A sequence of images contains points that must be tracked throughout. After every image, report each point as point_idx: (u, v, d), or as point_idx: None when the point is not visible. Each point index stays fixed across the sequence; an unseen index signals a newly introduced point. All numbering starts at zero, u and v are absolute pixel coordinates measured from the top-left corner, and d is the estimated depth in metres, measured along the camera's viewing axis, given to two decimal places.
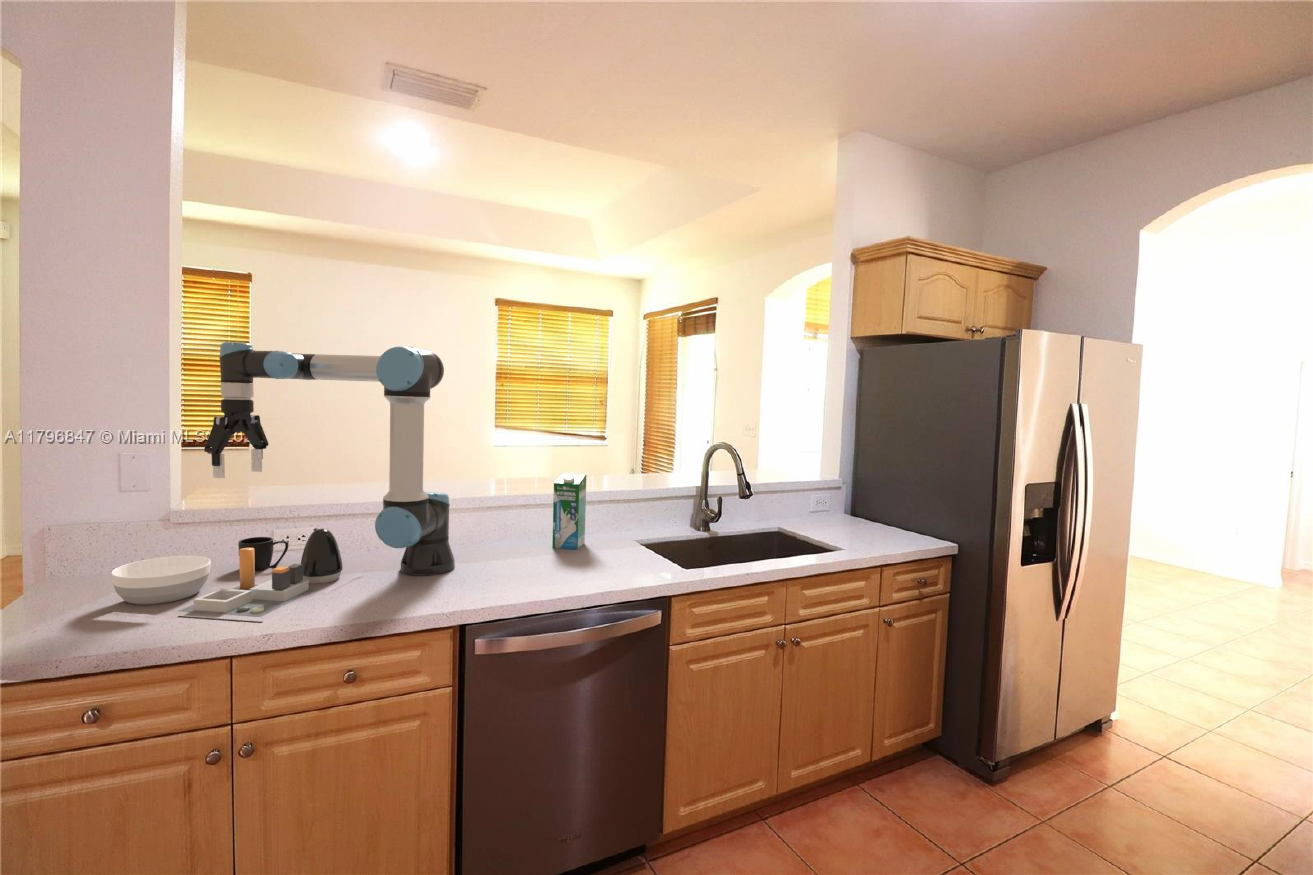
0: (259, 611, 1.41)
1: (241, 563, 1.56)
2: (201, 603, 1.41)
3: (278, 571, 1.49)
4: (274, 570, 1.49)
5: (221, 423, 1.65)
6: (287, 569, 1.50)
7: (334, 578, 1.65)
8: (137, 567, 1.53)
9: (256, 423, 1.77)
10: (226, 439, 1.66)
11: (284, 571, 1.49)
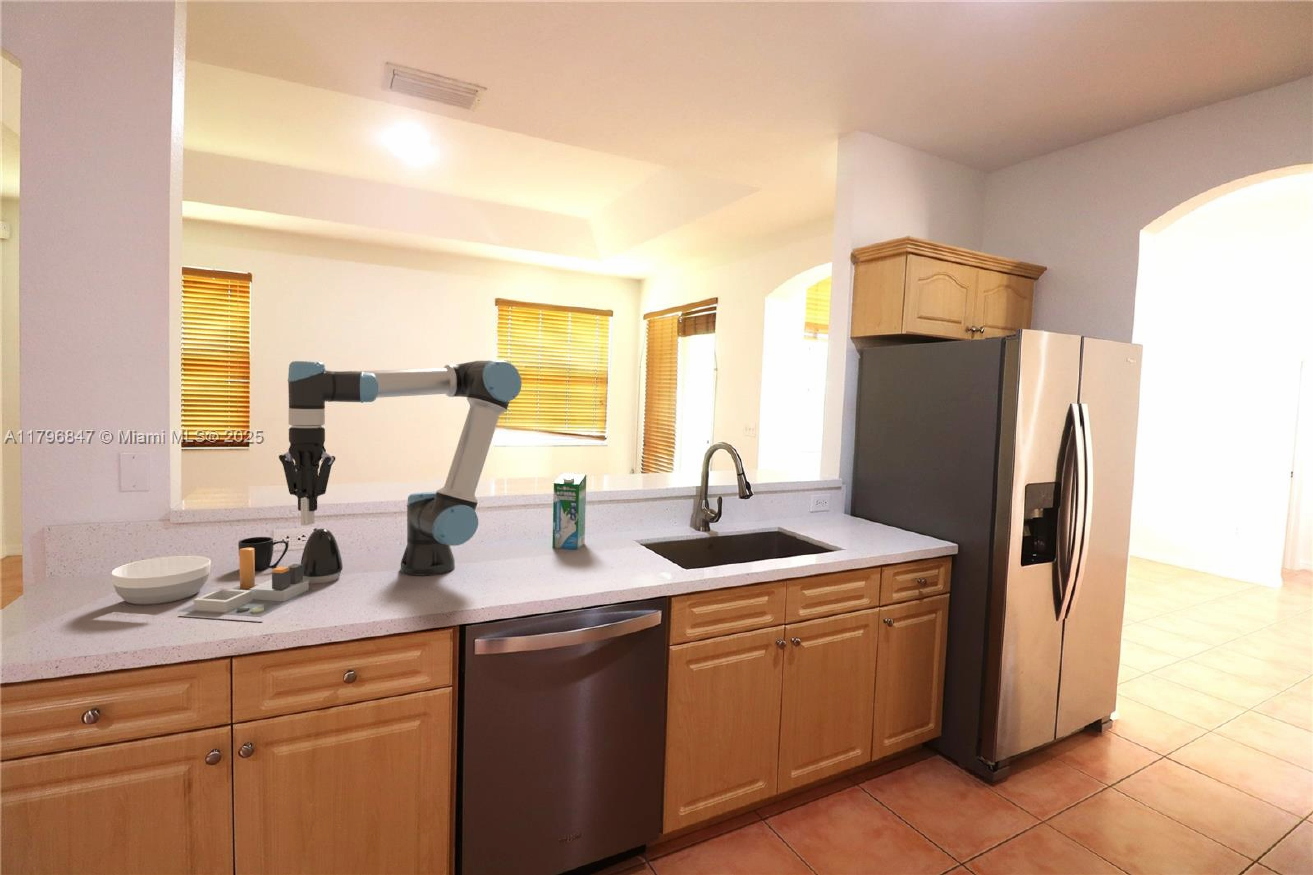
0: (259, 611, 1.41)
1: (241, 563, 1.56)
2: (201, 603, 1.41)
3: (278, 571, 1.49)
4: (274, 570, 1.49)
5: (282, 462, 1.47)
6: (287, 569, 1.50)
7: (334, 578, 1.65)
8: (137, 567, 1.53)
9: None
10: (297, 478, 1.47)
11: (284, 571, 1.49)
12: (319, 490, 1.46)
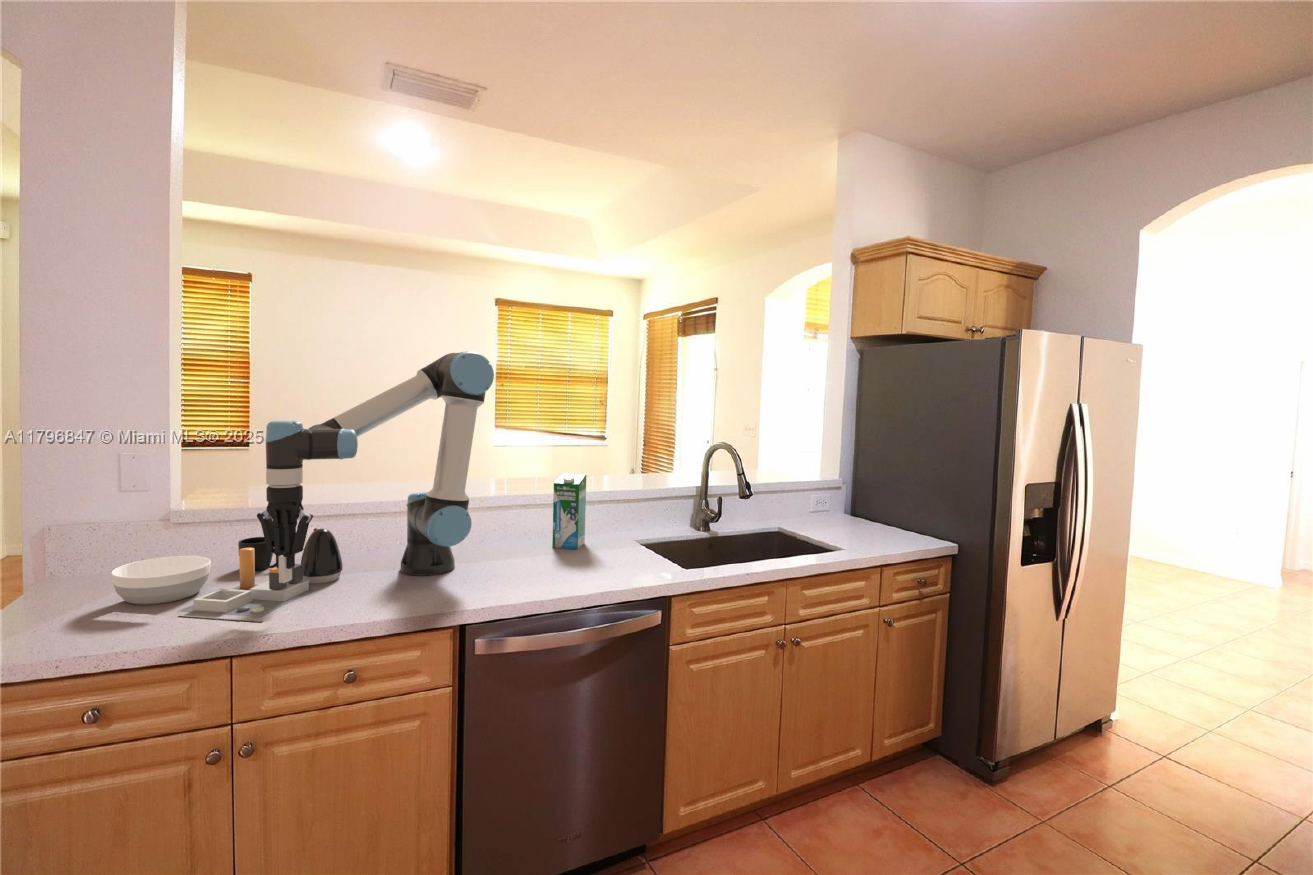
0: (259, 611, 1.41)
1: (241, 563, 1.56)
2: (201, 603, 1.41)
3: (275, 571, 1.49)
4: (271, 570, 1.49)
5: (260, 521, 1.48)
6: None
7: (334, 578, 1.65)
8: (137, 567, 1.53)
9: None
10: (275, 536, 1.48)
11: None
12: (296, 548, 1.48)
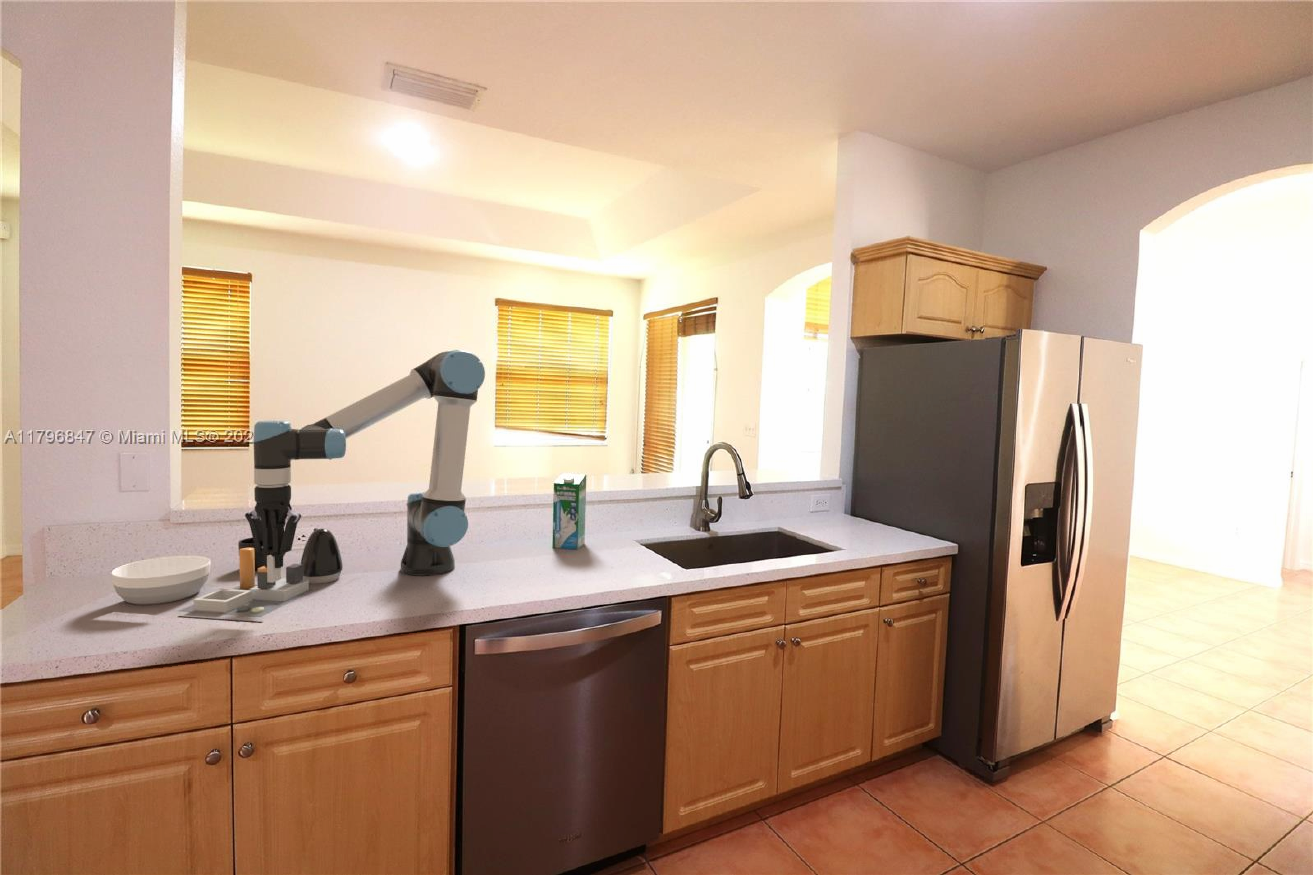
0: (259, 611, 1.41)
1: (241, 563, 1.56)
2: (201, 603, 1.41)
3: (263, 570, 1.49)
4: (259, 569, 1.49)
5: (248, 521, 1.48)
6: None
7: (334, 578, 1.65)
8: (137, 567, 1.53)
9: None
10: (263, 536, 1.48)
11: None
12: (284, 548, 1.48)
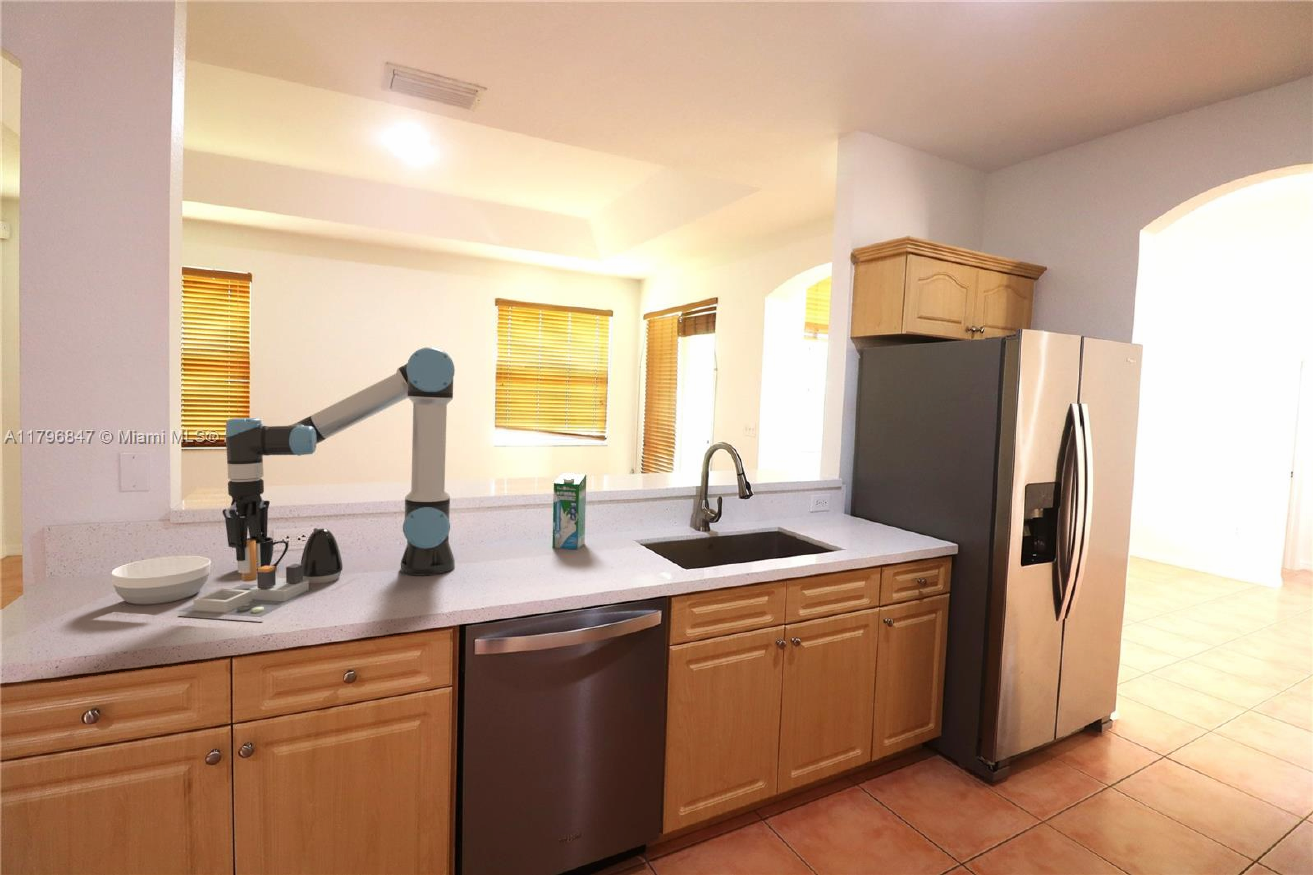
0: (259, 611, 1.41)
1: None
2: (201, 603, 1.41)
3: (263, 570, 1.49)
4: (259, 569, 1.49)
5: (234, 517, 1.50)
6: (273, 568, 1.51)
7: (334, 578, 1.65)
8: (137, 567, 1.53)
9: (263, 508, 1.61)
10: (245, 529, 1.54)
11: (269, 570, 1.50)
12: (266, 532, 1.62)
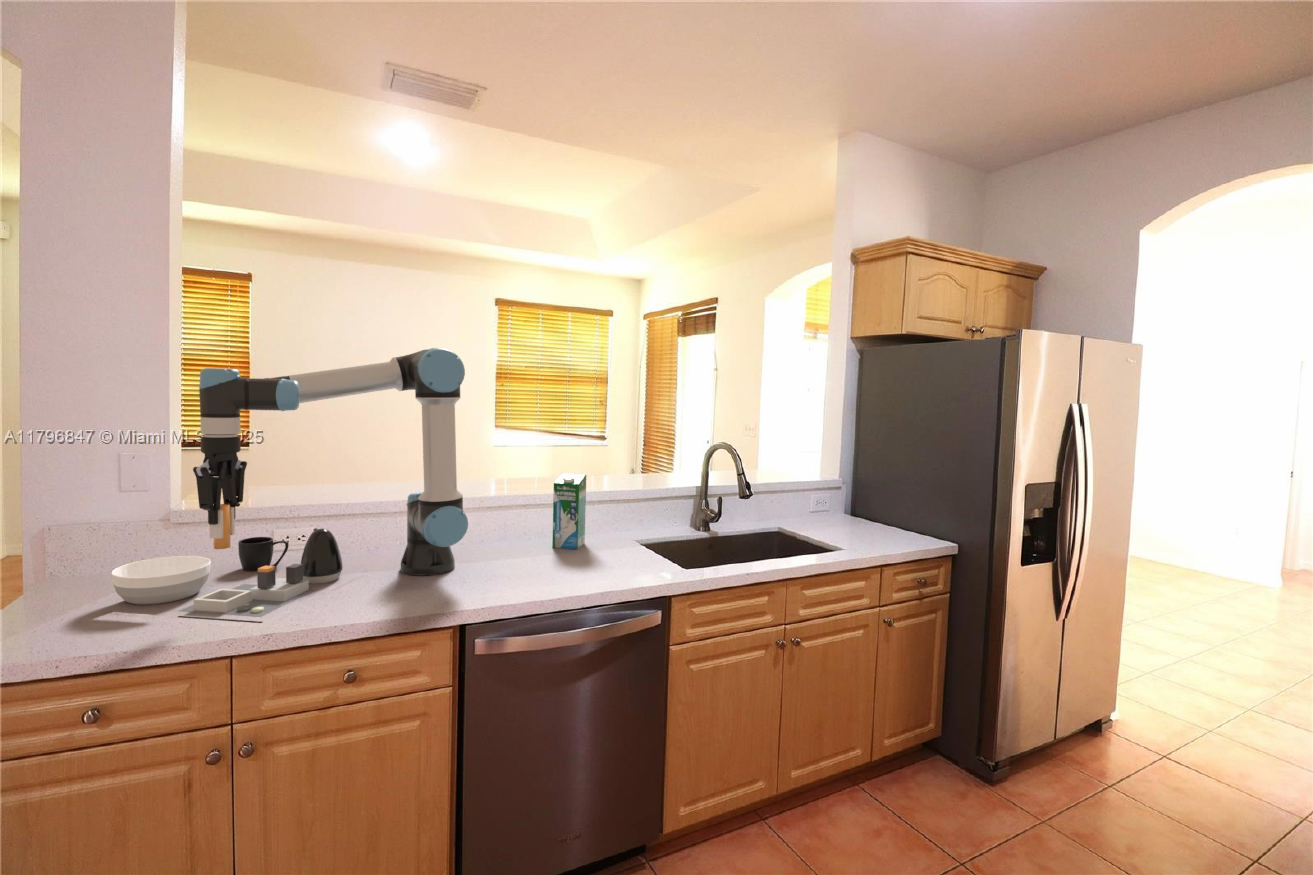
0: (259, 611, 1.41)
1: None
2: (201, 603, 1.41)
3: (263, 570, 1.49)
4: (259, 569, 1.49)
5: (205, 475, 1.37)
6: (273, 568, 1.51)
7: (334, 578, 1.65)
8: (137, 567, 1.53)
9: (240, 469, 1.47)
10: (218, 490, 1.40)
11: (269, 570, 1.50)
12: (242, 496, 1.48)
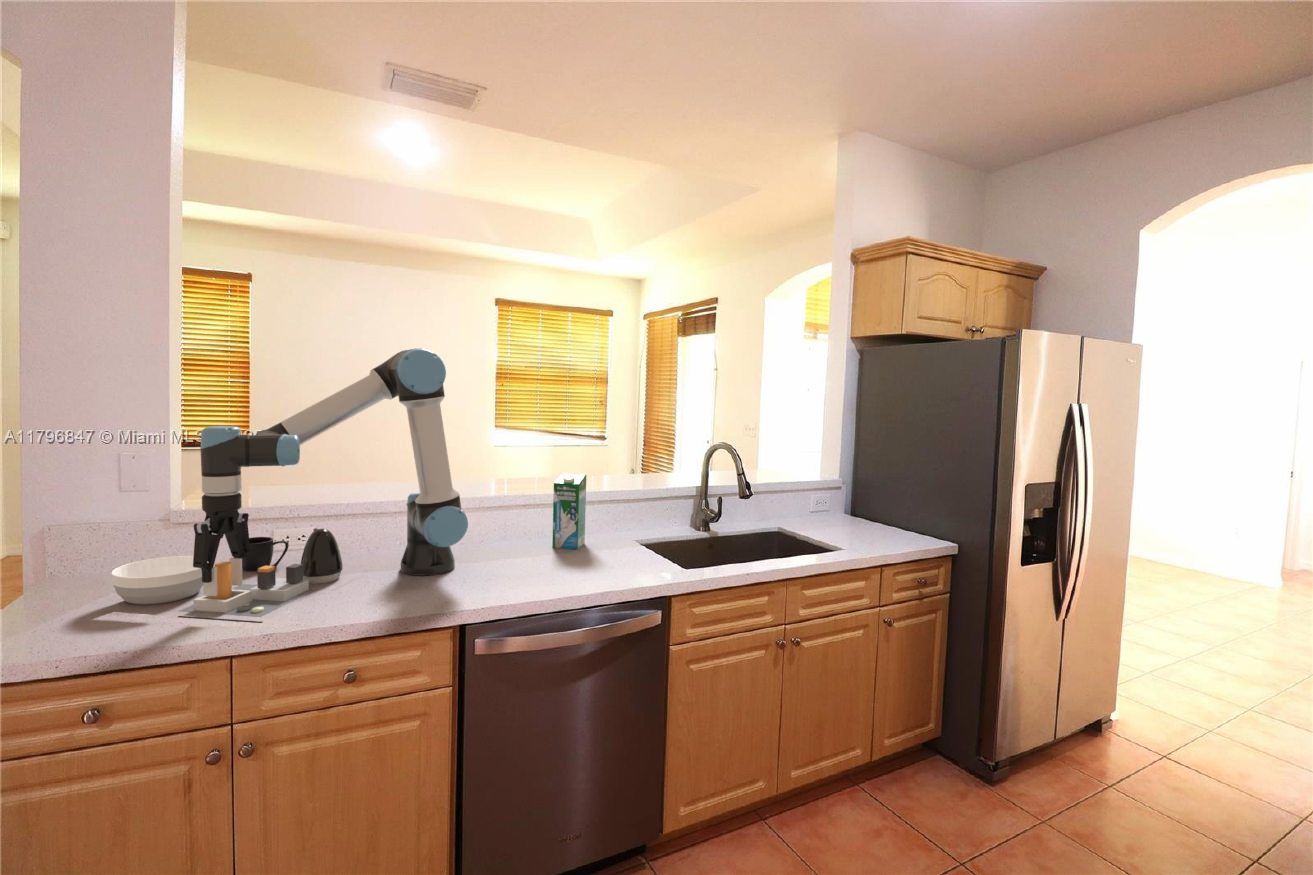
0: (259, 611, 1.41)
1: (217, 579, 1.43)
2: (201, 603, 1.41)
3: (263, 570, 1.49)
4: (259, 569, 1.49)
5: (205, 532, 1.37)
6: (273, 568, 1.51)
7: (334, 578, 1.65)
8: (137, 567, 1.53)
9: (242, 522, 1.49)
10: (215, 547, 1.40)
11: (269, 570, 1.50)
12: (249, 546, 1.51)
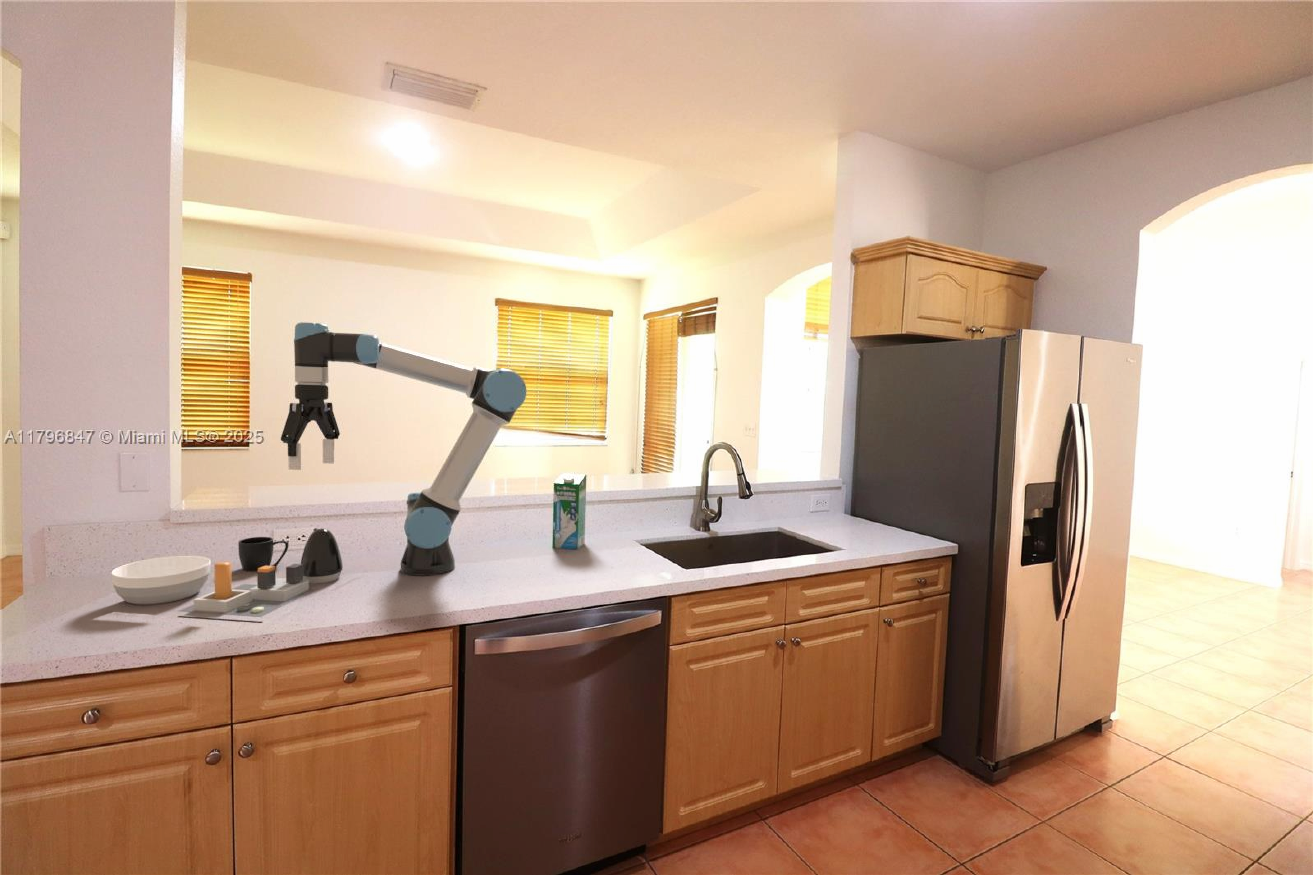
0: (259, 611, 1.41)
1: (216, 579, 1.43)
2: (201, 603, 1.41)
3: (263, 570, 1.49)
4: (259, 569, 1.49)
5: (298, 410, 1.51)
6: (273, 568, 1.51)
7: (334, 578, 1.65)
8: (137, 567, 1.53)
9: (329, 411, 1.64)
10: (302, 427, 1.53)
11: (269, 570, 1.50)
12: (338, 430, 1.68)
